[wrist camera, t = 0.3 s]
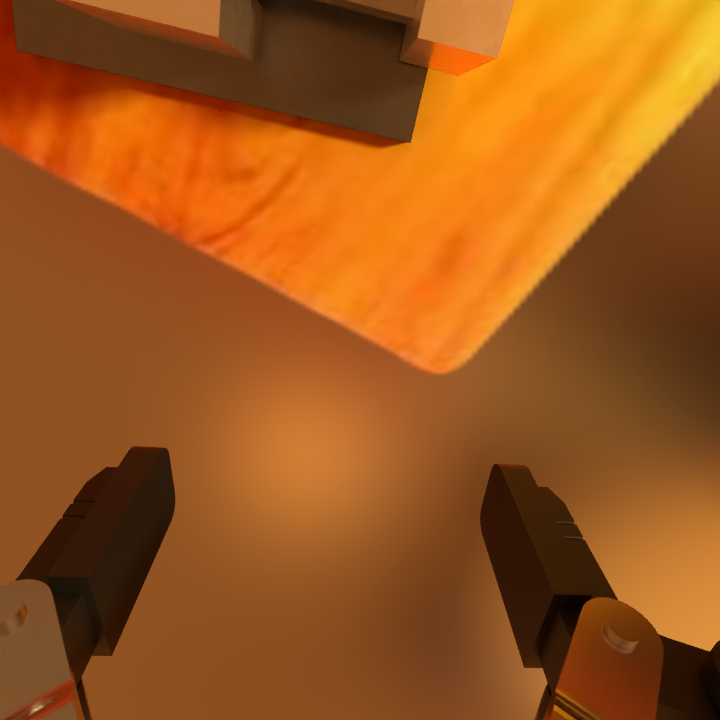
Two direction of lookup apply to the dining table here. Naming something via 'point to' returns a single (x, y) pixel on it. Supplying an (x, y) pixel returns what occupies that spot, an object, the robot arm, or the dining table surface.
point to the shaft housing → (241, 54)
